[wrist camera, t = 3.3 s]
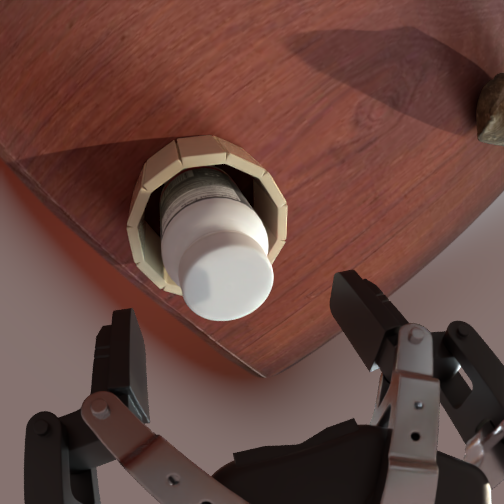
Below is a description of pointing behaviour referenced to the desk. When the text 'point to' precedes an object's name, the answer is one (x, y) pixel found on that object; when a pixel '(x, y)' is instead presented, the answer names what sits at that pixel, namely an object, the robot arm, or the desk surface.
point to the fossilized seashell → (491, 112)
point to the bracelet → (187, 156)
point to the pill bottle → (214, 244)
